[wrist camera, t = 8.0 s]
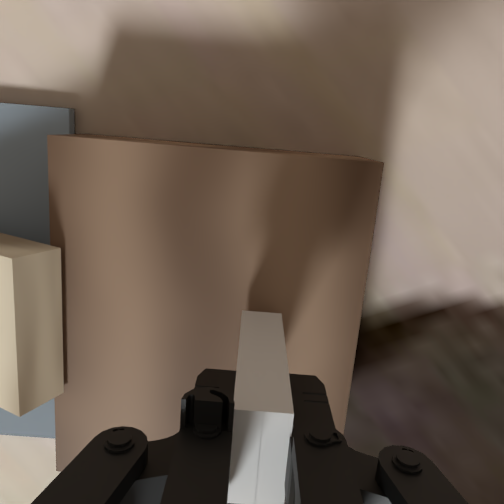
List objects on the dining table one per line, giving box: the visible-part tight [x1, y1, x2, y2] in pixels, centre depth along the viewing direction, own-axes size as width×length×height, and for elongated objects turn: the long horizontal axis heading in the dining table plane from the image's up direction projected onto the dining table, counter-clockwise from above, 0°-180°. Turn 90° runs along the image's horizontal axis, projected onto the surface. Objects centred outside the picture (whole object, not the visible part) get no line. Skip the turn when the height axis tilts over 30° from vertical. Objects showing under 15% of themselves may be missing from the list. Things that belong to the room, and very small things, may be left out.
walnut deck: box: [47, 134, 384, 471], centre depth 20 cm, size 12×14×4 cm
